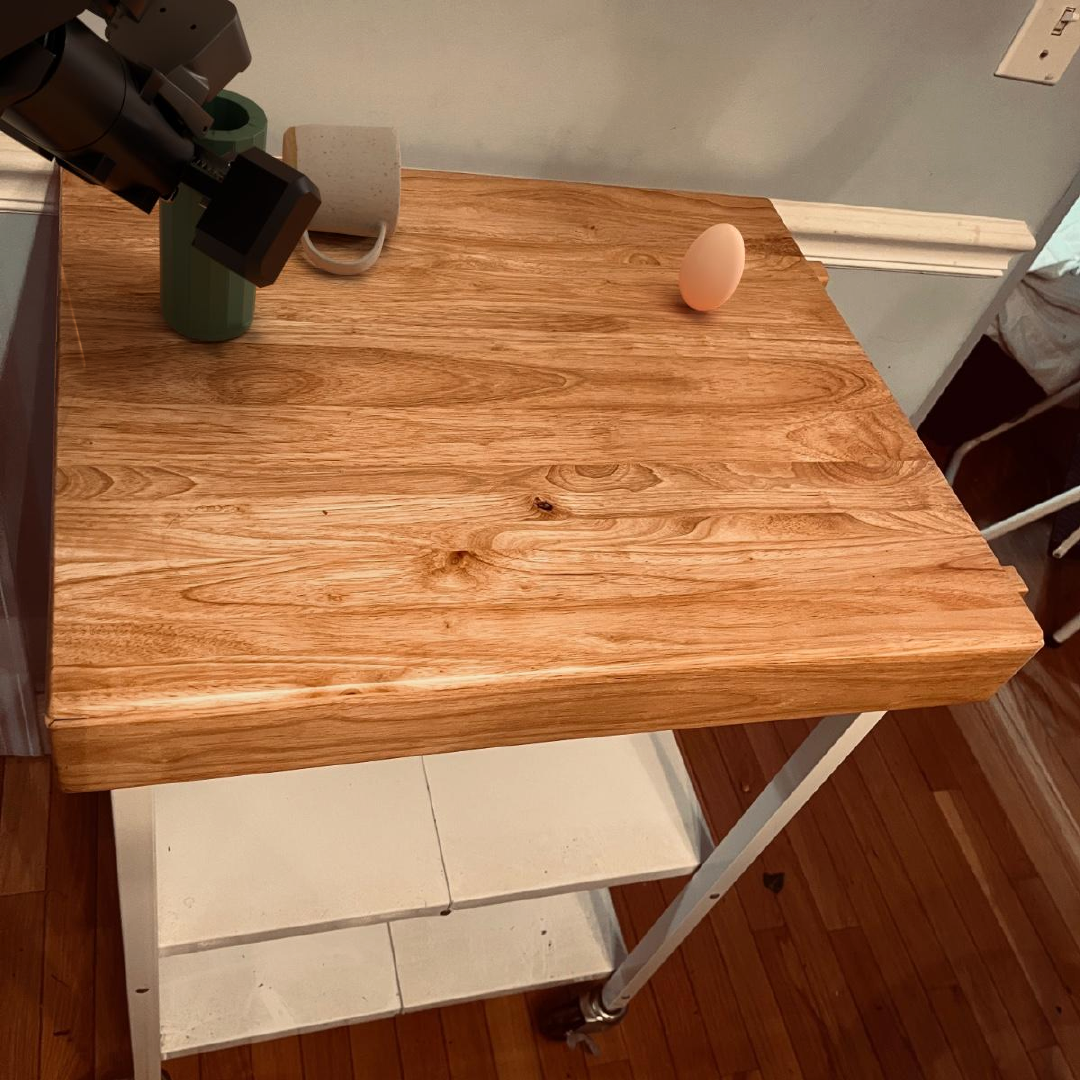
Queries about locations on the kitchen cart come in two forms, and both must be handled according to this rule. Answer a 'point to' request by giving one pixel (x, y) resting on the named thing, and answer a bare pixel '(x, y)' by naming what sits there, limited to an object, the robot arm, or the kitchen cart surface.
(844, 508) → the kitchen cart surface
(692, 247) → the egg
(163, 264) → the hollow cylinder
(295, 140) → the ceramic mug
